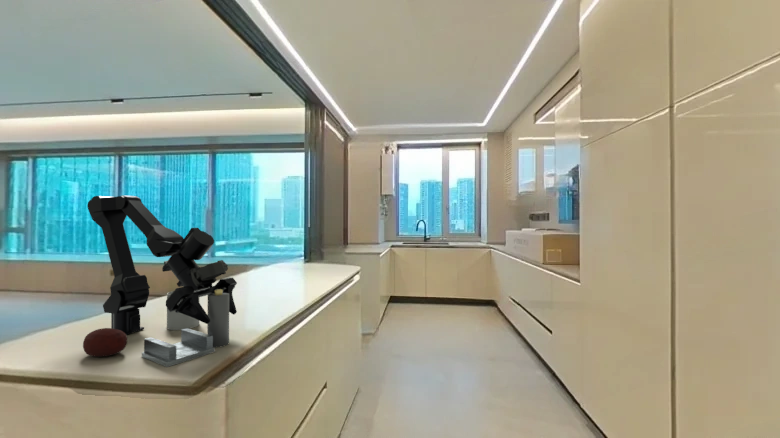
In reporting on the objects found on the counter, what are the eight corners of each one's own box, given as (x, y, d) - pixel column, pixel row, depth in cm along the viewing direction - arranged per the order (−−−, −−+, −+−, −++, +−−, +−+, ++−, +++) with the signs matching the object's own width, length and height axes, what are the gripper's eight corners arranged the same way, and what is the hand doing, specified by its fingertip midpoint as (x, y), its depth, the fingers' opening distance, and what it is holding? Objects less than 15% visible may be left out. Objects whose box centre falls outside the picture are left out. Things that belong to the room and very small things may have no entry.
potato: (102, 348, 92) (102, 323, 92) (137, 351, 90) (137, 325, 90) (71, 359, 84) (71, 332, 84) (108, 362, 82) (108, 335, 82)
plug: (181, 343, 95) (181, 289, 95) (196, 337, 100) (197, 286, 100) (219, 348, 92) (219, 292, 92) (233, 341, 96) (233, 288, 97)
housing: (141, 356, 86) (141, 339, 86) (189, 343, 95) (189, 327, 95) (166, 367, 80) (166, 348, 80) (214, 351, 89) (214, 335, 89)
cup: (184, 330, 106) (185, 295, 106) (160, 329, 108) (160, 294, 108) (205, 322, 114) (205, 290, 114) (181, 321, 116) (182, 289, 116)
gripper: (175, 254, 87) (213, 304, 84) (231, 248, 105) (264, 289, 102) (149, 286, 90) (185, 336, 86) (208, 275, 107) (240, 316, 104)
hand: (222, 317), depth 94 cm, fingers open, 9 cm apart
